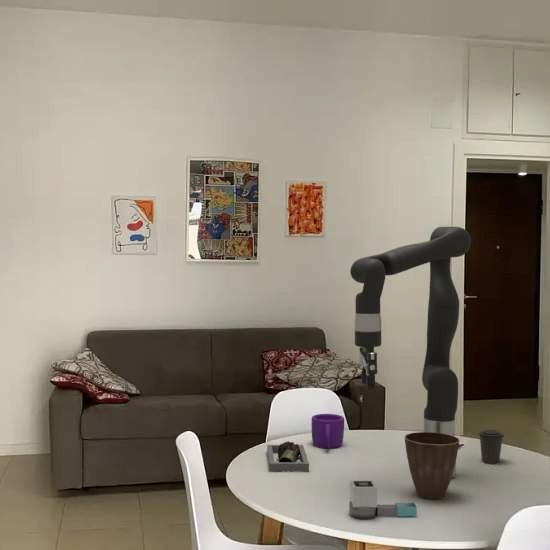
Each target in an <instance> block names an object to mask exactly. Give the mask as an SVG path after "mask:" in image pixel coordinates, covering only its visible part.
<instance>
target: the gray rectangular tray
mask: <svg viewBox="0 0 550 550" xmlns="http://www.w3.org/2000/svg"><path fill="white" fill-rule="evenodd" d="M279 445H280V444H267V445H266V453H267V454H268V455H267V454H266V455H267V461H268V462H269V463H268V462H267V463H268V469H269V470H270V471H269V472H270V473H271V472H272V473H277V472H278V473H280V472H281V473H283V472H282V471H285V472H286V473H288V472H287V471H309V472H310V463H309V459H308V456H307V453H306V450H305V447H304V444H298V448H299V451H300V454H299V455H300V456H299V459H300V462H297V461H296V462H277V461H276V462H275V457H274V456H275V455H274V454H278V448H279ZM285 472H284V473H285Z"/></svg>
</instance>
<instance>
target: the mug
mask: <svg viewBox="0 0 550 550" xmlns="http://www.w3.org/2000/svg"><path fill="white" fill-rule="evenodd" d="M344 433H345V417H344V416H342V415H340V414H333V413H318V414H314V415H312V417H311V440H312V443H313V445H314V446H315V447H317V448H320V447H322V448H321V449H336V447H337V448H339V447H341V446H342V445H343V441H344V437H345V436H344Z"/></svg>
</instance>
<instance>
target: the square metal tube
mask: <svg viewBox="0 0 550 550" xmlns="http://www.w3.org/2000/svg"><path fill="white" fill-rule="evenodd" d="M374 481H375V480H367V479H366V480H362V479H361V480H359V479H358V480H352V479H351V480H349V502H350V501H351V504H352V506H353V507H377V505H378V487H377V485H376V483H375V482H374ZM358 483H368V485H369V487H356V486H358Z"/></svg>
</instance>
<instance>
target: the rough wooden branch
mask: <svg viewBox="0 0 550 550" xmlns="http://www.w3.org/2000/svg"><path fill="white" fill-rule="evenodd" d="M278 445H279V448H278V453H277V458H278V462H295V461H296V459H297V457H298V458H299V457H300V456H299V454H300V451H299V448H298V445H299V444H298V443H295V442H294V441H289V440H288V441H284V442H283V443H280V444H278Z"/></svg>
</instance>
